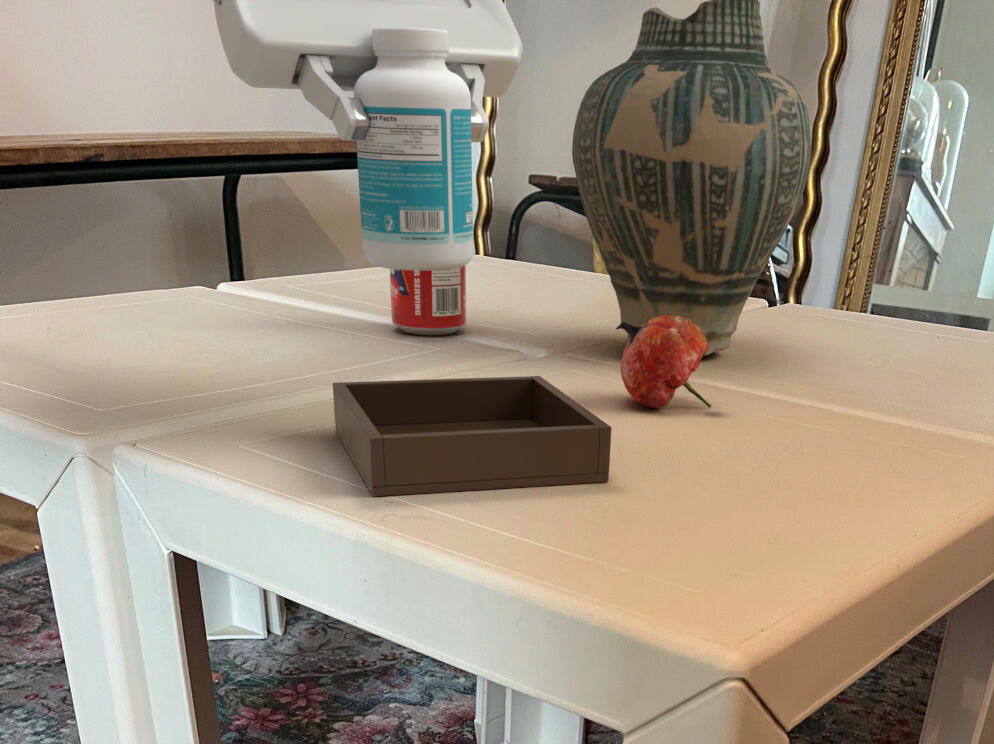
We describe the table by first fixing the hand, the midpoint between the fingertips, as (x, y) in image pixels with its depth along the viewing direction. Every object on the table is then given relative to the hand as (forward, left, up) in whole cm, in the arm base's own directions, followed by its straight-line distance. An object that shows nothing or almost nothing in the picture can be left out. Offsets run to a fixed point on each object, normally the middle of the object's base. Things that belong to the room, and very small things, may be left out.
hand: (419, 134), depth 72 cm
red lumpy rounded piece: (+22, +7, -20) cm, 30 cm away
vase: (+32, +28, -20) cm, 47 cm away
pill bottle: (0, +1, -8) cm, 8 cm away
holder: (+2, -5, -19) cm, 20 cm away
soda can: (+10, +43, -20) cm, 49 cm away
